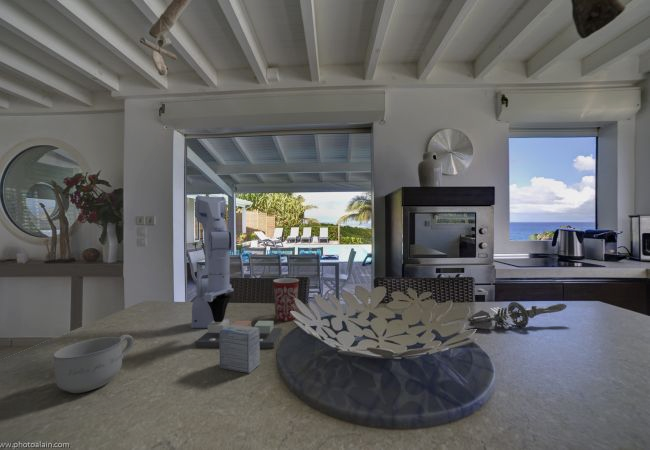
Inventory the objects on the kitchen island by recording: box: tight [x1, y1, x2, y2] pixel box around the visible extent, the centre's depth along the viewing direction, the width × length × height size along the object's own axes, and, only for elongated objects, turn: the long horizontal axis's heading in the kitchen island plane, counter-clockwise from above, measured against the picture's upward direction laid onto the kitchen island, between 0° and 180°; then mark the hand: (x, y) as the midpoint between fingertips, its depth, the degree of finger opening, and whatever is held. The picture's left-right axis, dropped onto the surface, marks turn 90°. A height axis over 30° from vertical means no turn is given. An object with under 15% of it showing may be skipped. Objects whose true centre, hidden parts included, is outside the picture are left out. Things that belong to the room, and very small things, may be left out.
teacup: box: [52, 334, 135, 394], centre depth 59 cm, size 14×11×8 cm
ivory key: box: [207, 320, 230, 333], centre depth 81 cm, size 4×4×2 cm
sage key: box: [253, 320, 275, 333], centre depth 81 cm, size 4×4×2 cm
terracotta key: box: [231, 320, 252, 327], centre depth 81 cm, size 4×4×2 cm
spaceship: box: [467, 301, 567, 330], centre depth 91 cm, size 8×35×8 cm
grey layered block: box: [219, 324, 261, 374], centre depth 65 cm, size 8×4×9 cm, turn 71°
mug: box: [272, 277, 300, 322], centre depth 103 cm, size 13×9×14 cm
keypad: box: [194, 327, 283, 349], centre depth 81 cm, size 21×11×2 cm, turn 88°
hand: (218, 321), depth 81 cm, fingers closed
